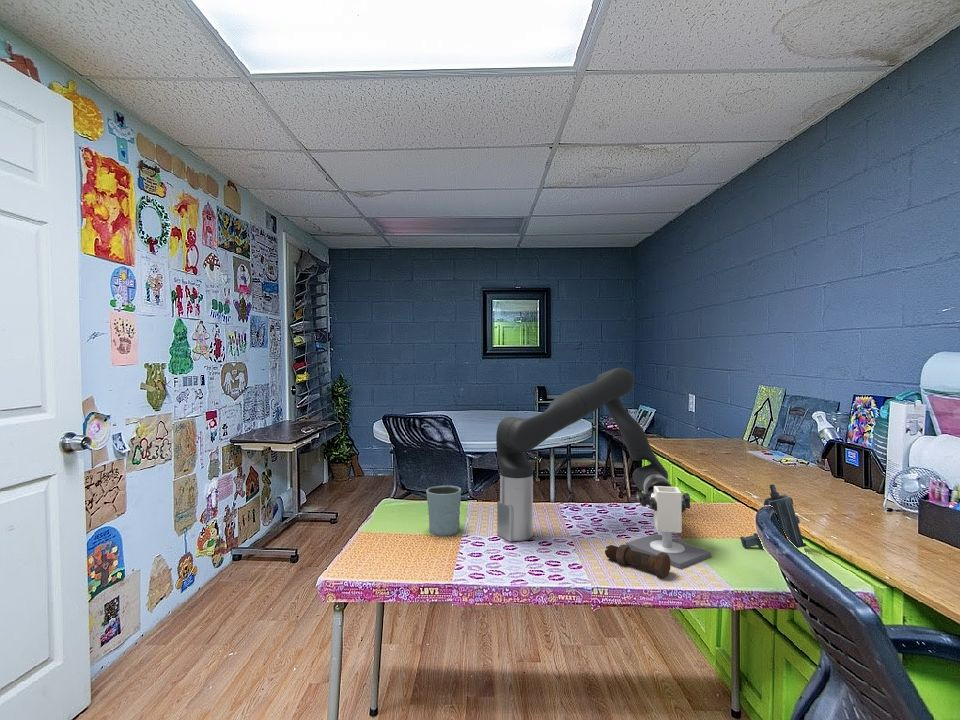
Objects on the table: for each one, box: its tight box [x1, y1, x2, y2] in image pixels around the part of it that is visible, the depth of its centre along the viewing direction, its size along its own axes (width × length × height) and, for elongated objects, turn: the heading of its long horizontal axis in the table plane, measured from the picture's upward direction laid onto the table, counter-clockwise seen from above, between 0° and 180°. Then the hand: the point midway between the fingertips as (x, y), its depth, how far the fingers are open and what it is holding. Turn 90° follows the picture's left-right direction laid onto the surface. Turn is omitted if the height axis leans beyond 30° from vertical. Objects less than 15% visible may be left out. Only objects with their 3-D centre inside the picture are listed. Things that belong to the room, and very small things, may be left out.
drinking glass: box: [425, 485, 462, 537], centre depth 143 cm, size 10×10×12 cm
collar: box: [653, 486, 683, 534], centre depth 127 cm, size 6×6×10 cm
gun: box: [739, 483, 808, 549], centre depth 129 cm, size 3×17×15 cm
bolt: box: [604, 543, 671, 579], centre depth 118 cm, size 6×5×15 cm
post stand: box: [625, 532, 712, 570], centre depth 127 cm, size 13×16×14 cm
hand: (669, 507), depth 125 cm, fingers closed on collar, 5 cm apart
